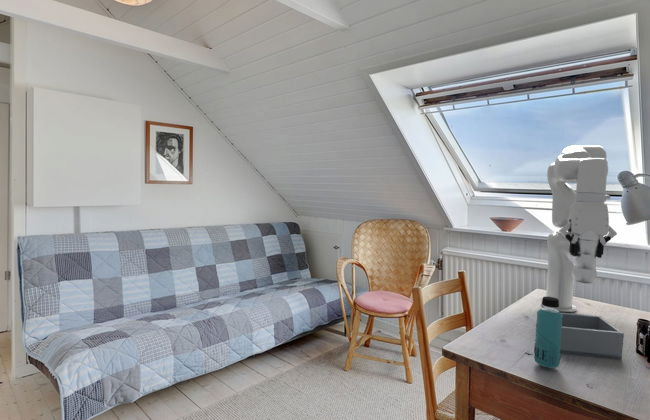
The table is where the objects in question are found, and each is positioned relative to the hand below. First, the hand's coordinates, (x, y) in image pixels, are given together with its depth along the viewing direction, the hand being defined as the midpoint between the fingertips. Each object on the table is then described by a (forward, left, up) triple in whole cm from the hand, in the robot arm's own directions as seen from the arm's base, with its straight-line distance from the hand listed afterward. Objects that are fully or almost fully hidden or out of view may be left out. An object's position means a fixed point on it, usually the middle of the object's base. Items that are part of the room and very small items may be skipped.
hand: (585, 255), depth 122 cm
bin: (0, 0, -29) cm, 29 cm away
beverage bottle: (+19, -15, -29) cm, 38 cm away
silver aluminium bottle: (0, 0, -9) cm, 9 cm away
